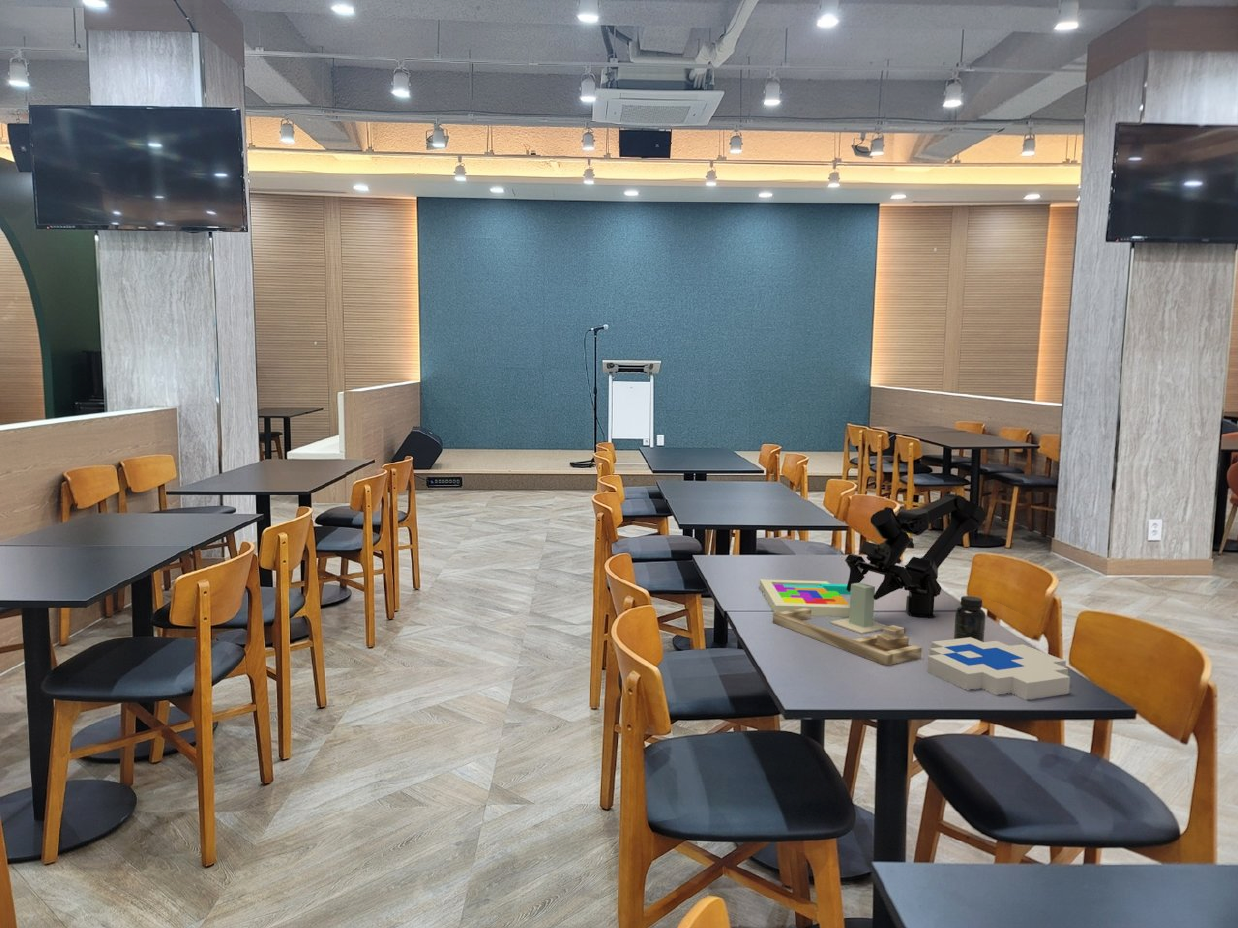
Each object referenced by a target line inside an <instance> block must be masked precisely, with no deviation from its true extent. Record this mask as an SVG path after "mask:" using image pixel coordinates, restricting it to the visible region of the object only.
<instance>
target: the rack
mask: <svg viewBox="0 0 1238 928" xmlns="http://www.w3.org/2000/svg"><path fill="white" fill-rule="evenodd" d="M808 619H812V616H811V609H808V608H801V609H795V610H789V611H783V612H777V613H774V612H773V613H772V623H773V624H776V625H778V626H781V627H784V628H786V629H788V630H791V631H794V632H797V633H799V634H802V635H805V636H807V637H810V638H812V639H816V640H818V641H820V642H822V643H826V644H828V645H830V646H833V647H834V648H835V647H836V648H838V649H841V650H843V649H844V650H843V651H846V652H848V651H849V653H851V652H852V653H851V654H853V655H856V654H857V655H856V656H859V655H860V656H859V657H861V656H862V658H864V657H865V658H864V659H867V658H868V659H867V660H869V659H870V661H872V662H875V663H877V662H878V663H877V664H880V665H882V664H883V666H885V667H889V666H892V664H893V665H896V663H897V664H900V663H901V664H902V663H905V661H906V662H909V660H910V661H913V660H917V659H921V658H922V647H921V646H918V645H916V644H913V645H911V646H909V647H904V648H900V649H895V650H891V651H883V650H880V649H878V648H875V647H874V644H875V643H877V635H882V634H883V633H879V634H878V633H877V634H873V635H869V636H864V637H860V638H859V637H858V638H853V639H852V638H850V637H847V636H845V635H842V634H839V633H837V632H834V631H831V630H828V629H826V628H822V627H820V626H817V625H815V624H812V623H810V622H807V621H804V620H808Z"/></svg>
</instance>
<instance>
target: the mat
mask: <svg viewBox="0 0 1238 928" xmlns="http://www.w3.org/2000/svg"><path fill="white" fill-rule="evenodd" d="M829 623H830V624H831V625H835V626H838V627H840V628H842V629H846V630H849V631H852V632H854V633H857V634H860V635H866V634H871V633H874V632H875V633H876V632H880V631H883V628H886V627H889V626H890V625H886V624H883V623H880V622H877V621H874V620H873V626H869V627H864V628H863V627H860V626H857V625H855V624H852V623H849V617H847V618H842V619H837V620H836V619H835V620H832V621H829Z"/></svg>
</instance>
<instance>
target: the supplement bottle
mask: <svg viewBox="0 0 1238 928" xmlns="http://www.w3.org/2000/svg"><path fill="white" fill-rule="evenodd" d="M960 605H961V606H959V607H958V608H956V610H955V615H954V617H955V619H954V629H953V630H954V631H953V639H960V638H969V637H971V638H974V639H976V640H979V641H981V642H985V629H986V618H987V616H986V612H985V611H984V610H983V609H982V608H983V599H982V598H981V597H977V596H972V595H971V596H970V595H965V596H961V598H960Z"/></svg>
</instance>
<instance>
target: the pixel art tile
mask: <svg viewBox="0 0 1238 928" xmlns="http://www.w3.org/2000/svg"><path fill="white" fill-rule="evenodd" d="M1066 661H1067V660H1064V659H1062V658H1060V657H1057V656H1054V655H1051V654H1049V653H1046V652H1044V651H1041V650H1039V649H1036V648H1033V647H1030V646H1028V645H1026V644H1023V643H1021V644H1013V645H1010V644H1009V645H1008V644H1006V643H1003V642H1001V641H999V640H992V641H984V642H981V641H979V640H976V639H974V638H971V637H969V638H960V639H954V638H952V639H944V640H936V641H935V640H934V641H931V643H930V648H929V654H928V655H927V669H926V671H928V673H929V674H931V675H934V676H936V677H938V678H939V679H942V678H943V679H942V680H944V679H945V681H946V682H947V683H950V684H952V685H954V684H955V685H954V686H957V687H958V686H959V687H958V688H960V687H961V689H962V688H963V690H965V689H966V690H965V691H971V690H970V689H974V690H979V689H980V688H982V690H984V689H985V690H984V691H986V690H987V691H986V692H988V691H989V692H988V693H990V692H991V694H992V693H993V694H992V695H994V694H995V696H999V694H1001V695H1006V693H1008V694H1011V693H1012V695H1014V694H1015V695H1014V696H1016V695H1017V696H1016V697H1018V696H1019V697H1018V698H1020V697H1022V698H1024V699H1023V700H1025V699H1030V700H1035V699H1036V698H1037V699H1042V698H1048V697H1055V696H1061V695H1067V694H1069V693H1070V686H1071V684H1070V683H1071V676H1069V675H1068V673H1069V668H1067V667H1066V663H1067V662H1066ZM1022 698H1021V699H1022Z"/></svg>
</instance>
